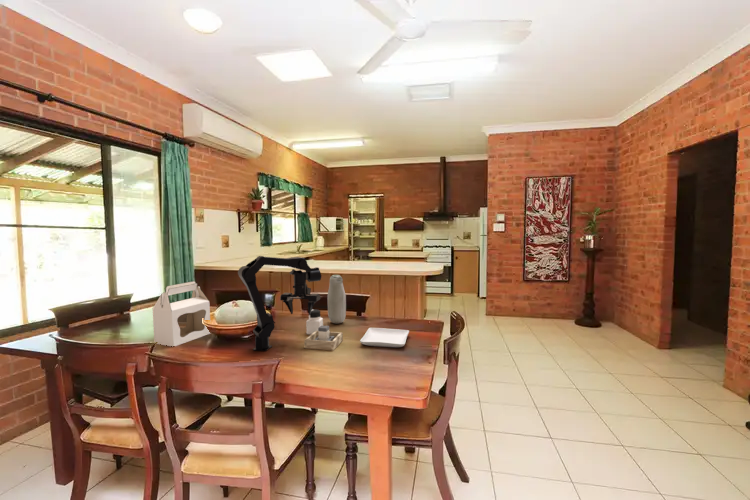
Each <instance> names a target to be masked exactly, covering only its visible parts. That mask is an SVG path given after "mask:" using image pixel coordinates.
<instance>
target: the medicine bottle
mask: <svg viewBox="0 0 750 500" xmlns="http://www.w3.org/2000/svg"><path fill="white" fill-rule="evenodd" d="M305 325H306V326H305V328H306V335H311V334H312V333H314V332H315V331H318V328H319V327H320V326H321V325H322V326H324V318H323V317H321V310H319V309H316V308H315V309H313V308H312V311H311V314H310V315H309V314H308V319H307V320H306V324H305Z"/></svg>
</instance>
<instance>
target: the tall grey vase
mask: <svg viewBox="0 0 750 500" xmlns="http://www.w3.org/2000/svg"><path fill="white" fill-rule="evenodd" d="M343 281H344V279H343V277H342V276H341V275H340V274H332V275H331V276H330V278H329V287H328V291H327V315H328V316H327V317H328V319H329V321H330V322H331V323H332V324H335V325H336V324H337V325H338V324H341V323H343V322H344V321H345V319H346V314H347V294H346V292H345V287H344V283H343Z"/></svg>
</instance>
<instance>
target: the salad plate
mask: <svg viewBox="0 0 750 500" xmlns="http://www.w3.org/2000/svg"><path fill="white" fill-rule="evenodd" d="M409 333H410V330H408V329H398V328H385V327H384V328H383V327H368V329H367V330H366V332H365V334H363V336H362V337H361V339H360V340H359V343H360V344H362V345H365V346H370V347H382V348H402V347H404V346H405V344H406V341H407V338H408V335H409Z"/></svg>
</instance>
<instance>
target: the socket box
mask: <svg viewBox="0 0 750 500" xmlns="http://www.w3.org/2000/svg"><path fill="white" fill-rule="evenodd" d="M303 341H304V345H303V346H304V349H307V350H308V349H310V350H322V351H323V350H324V351H325V350H326V351H335V349H336V348H337V347H338V346H339V345H340V344H341V343H342V342H343V332H341V331H329V340H319V335H318V331H315V332H314V333H312V334H309V335H308V337H306V338H305V339H304V340H303Z"/></svg>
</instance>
